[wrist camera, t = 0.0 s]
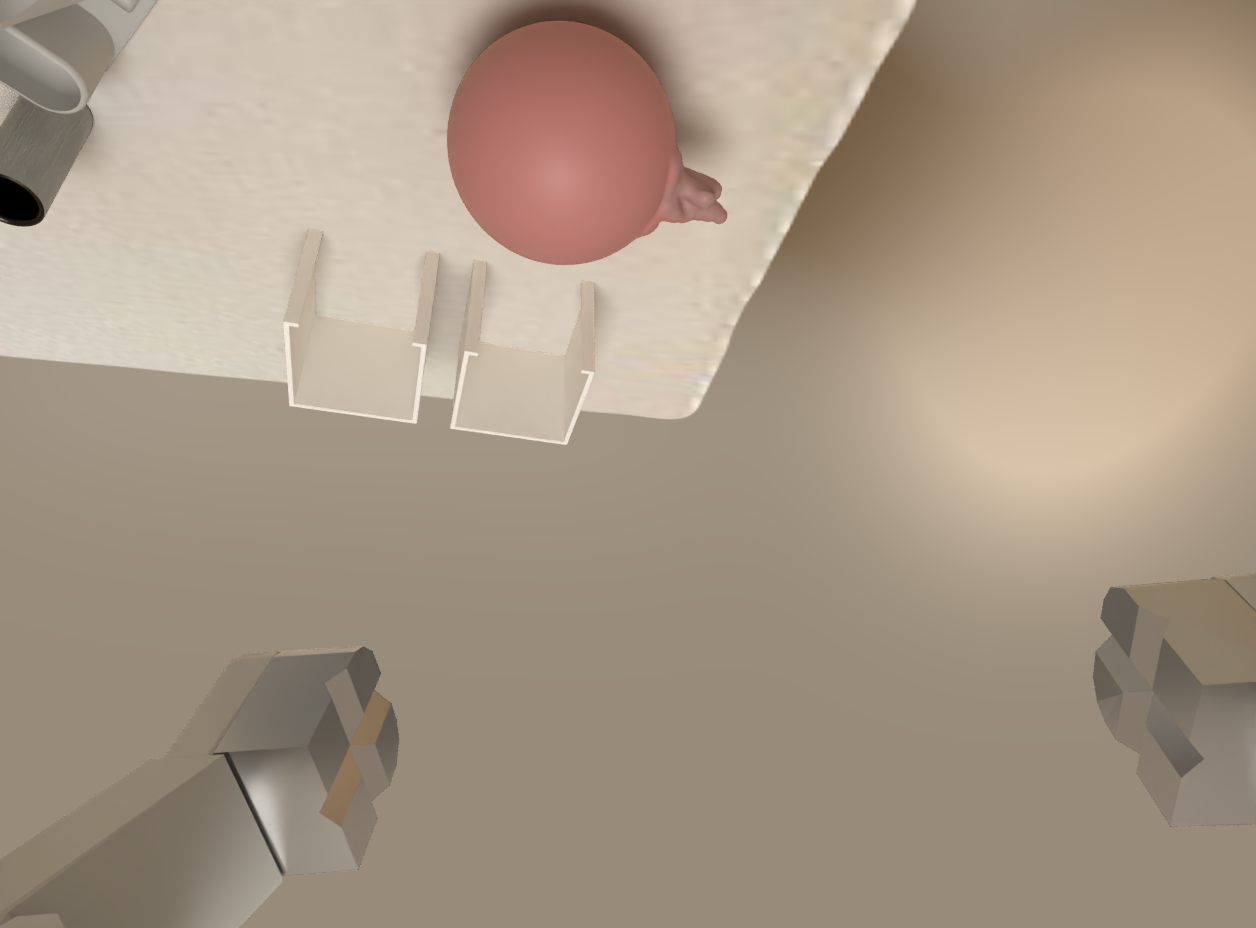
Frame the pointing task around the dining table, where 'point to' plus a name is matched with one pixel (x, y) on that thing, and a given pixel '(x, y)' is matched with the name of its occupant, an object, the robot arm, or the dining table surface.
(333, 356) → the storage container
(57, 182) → the gray cylinder
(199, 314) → the dining table surface
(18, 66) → the phone holder
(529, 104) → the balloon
